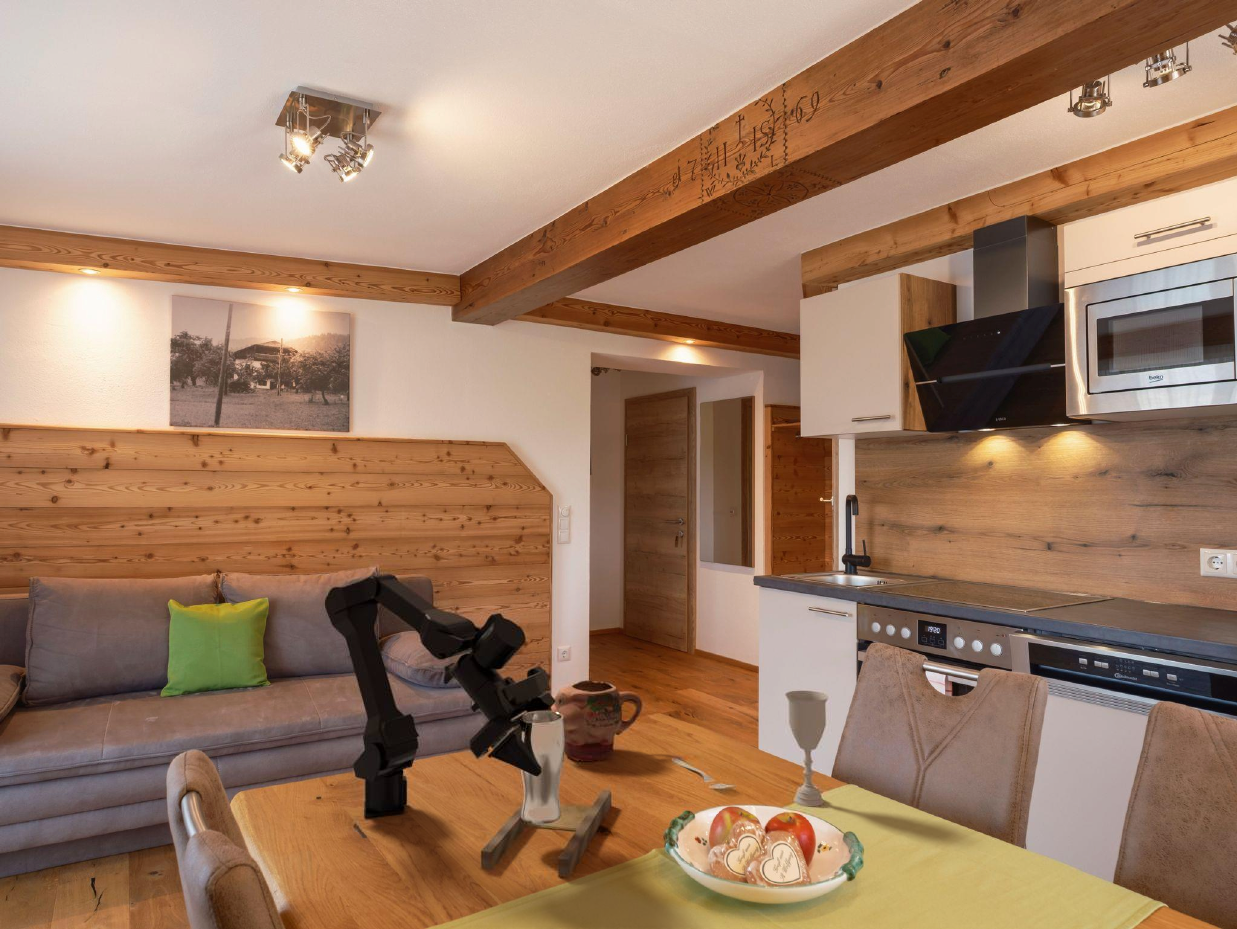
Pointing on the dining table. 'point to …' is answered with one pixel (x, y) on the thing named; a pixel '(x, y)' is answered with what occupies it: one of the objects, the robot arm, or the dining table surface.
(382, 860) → the dining table surface
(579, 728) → the sculpted ceramic mug
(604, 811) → the channel
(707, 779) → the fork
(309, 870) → the dining table surface
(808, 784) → the chalice
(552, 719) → the beer glass
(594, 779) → the dining table surface
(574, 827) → the tan square coaster
